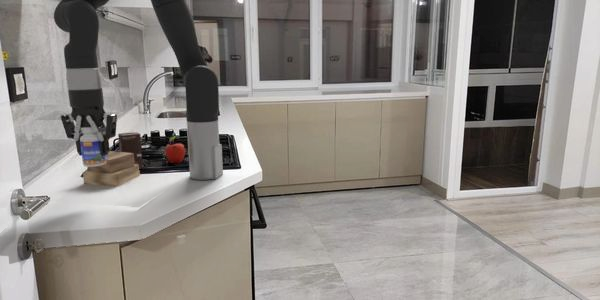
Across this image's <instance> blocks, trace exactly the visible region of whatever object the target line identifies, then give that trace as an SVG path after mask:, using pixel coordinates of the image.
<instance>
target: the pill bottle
mask: <svg viewBox="0 0 600 300" xmlns="http://www.w3.org/2000/svg"><path fill="white" fill-rule="evenodd" d="M98 128H100V127H98ZM82 133H83V136H81V137H80V145H81V153H82V156H81V159H82V165H83V166H84V167H95V166H101V165H104V164H106V155H105V156H101V152H100V145H99V141H100V140H99V138H98V136H97V134H96V133H94V131H93V129H92V127H82Z"/></svg>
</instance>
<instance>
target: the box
mask: <svg viewBox="0 0 600 300" xmlns="http://www.w3.org/2000/svg"><path fill="white" fill-rule="evenodd" d="M117 136H118V145H119V146H118V147H119V152H126V153H134V161H135V164H139V169H141V168H142V169H143V156H142V153H143V152H142V142H141V141H142V140H141V138H142V137H141V134H140V133H139V132H137V131H136V132H124V133H123V132H122V133H121V132H119V133H118V134H117Z"/></svg>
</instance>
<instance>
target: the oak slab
mask: <svg viewBox="0 0 600 300" xmlns="http://www.w3.org/2000/svg"><path fill="white" fill-rule="evenodd" d="M140 173H141V170H139V164H135V166H134V167H131V168H128V169H125V170H122V171H119V172H115V173H112V174H110V173H102V172H94V171H88V169H86V170H85V171H83V172H82V177H83V184H84V185H93V186H97V185H98V186H115V187H117V186H118V187H120V186H122V185H124V184H125V183H127V182H128V183H129V182H130V181H132V180H134V179H136V178H138V177H140V176H141V174H140Z"/></svg>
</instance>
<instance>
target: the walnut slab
mask: <svg viewBox="0 0 600 300" xmlns="http://www.w3.org/2000/svg"><path fill="white" fill-rule="evenodd" d="M134 166H135V161H134V153H126V152H120V151H116V150H110V151H109V153H108V155H106V164H104V165H101V166H95V167H87V170H88V171H94V172H102V173H110V174H112V173H115V172H119V171H122V170H125V169H128V168H131V167H134Z"/></svg>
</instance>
